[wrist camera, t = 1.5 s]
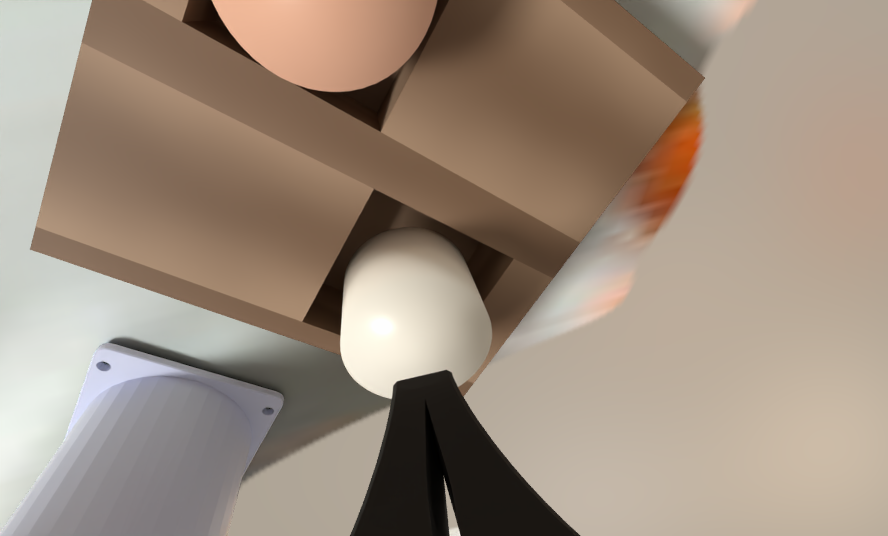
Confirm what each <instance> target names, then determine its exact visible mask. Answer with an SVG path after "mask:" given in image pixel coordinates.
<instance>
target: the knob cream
mask: <svg viewBox="0 0 888 536" xmlns="http://www.w3.org/2000/svg"><path fill="white" fill-rule="evenodd" d="M491 341H492V327H491V321H490V318H489V315H488V313H487V310H486V308H485V306H484V303H483V301H482V299H481V296H480V294H479V292H478V289H477V287H476V285H475V282H474V280H473V278H472V276H471V273H470V271H469V269H468V266H467V264H466V262H465V259H464V257H463V255H462V254H461V252H460V251H459V249H458V248H457V247H456V246H455V245H454V244H453V243H452V242H451V241H450V240H448V239H447V238H446V237H444V236H442V235H441V234H439V233H436V232H434V231H431V230H428V229H424V228H417V227H402V228H395V229H391V230H388V231H385V232H382V233H380V234H378V235H376V236H374V237H372V238H371V239H369V240H368V241H366V242H365V243H364V244H363V245H362V246H360V247H359V249H358V250H357V251H356V252H355V253H354V255H353V256H352V258H351V259H350V261H349V264H348V266H347V268H346V272H345V277H344V288H343V304H342V321H341V337H340V351H341V356H342V360H343V362H344V365H345V367H346V369H347V371H348V372H349V374H350V375H351V376H352V377H353V379H354V380H355V381H356V382H358V383H359V384H360V385H361V386H362V387H364V388H365V389H367V390H369V391H371V392H372V393H374V394H377V395H380V396H382V397H386V398H390V399H392V393H393V385H394V384H395V383H396V382H397V381H400V380H404V379H409V378H413V377H417V376H422V375H426V374H430V373H435V372H439V371H443V370H448V371H450V372H452V375H453V377H454V380H455V382H456V384H457V386H458V387H459V386H460V385H462V384H463V383H465V382H466V381H467V380H468V379H470V378H471V377H472V376H473V375H474V374H475V373H476V372H477V370H478V369H479V368H480V367H481V365H482V364H483V362H484V361H485V359H486V357H487V355H488V352H489V349H490V346H491Z"/></svg>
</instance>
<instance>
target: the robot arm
mask: <svg viewBox="0 0 888 536" xmlns="http://www.w3.org/2000/svg"><path fill="white" fill-rule="evenodd" d="M103 362H107V363H109V365H106V364H104V363H103ZM283 402H284V397H283V395H282V394H281V393H279V392H277V391H273V390H270V389H266V388H263V387H260V386H256V385H253V384H249V383H246V382H242V381H239V380H236V379H232V378H229V377H225V376H222V375H219V374H215V373H212V372H208V371H205V370H201V369H198V368H195V367H191V366H188V365H184V364H181V363H177V362H174V361H171V360H167V359H164V358H160V357H157V356H153V355H150V354H147V353H143V352H140V351H136V350H133V349H130V348H126V347H123V346H119V345H116V344H111V343H105V344H102V345H100V346H99V347H98V348H97V349H96V351H95V352H94V354H93V357H92V360H91V363H90V366H89V369H88V371H87V374H86V377H85V380H84V383H83V386H82V389H81V392H80V395H79V398H78V401H77V404H76V407H75V409H74V412H73V415H72V418H71V421H70V424H69V427H68V430H67V433H66V436H65V439H64V441H63V442H62V444H61V445H60V447H59V448H58V450H57V451H56V452H55V454H54V455H53V457H52V458H51V460H50V461H49V462H48V464H47V465H46V467H45V468H44V470H43V471H42V472H41V474H40V475H39V477H38V478H37V480H36V481H35V482H34V484H33V485H32V487H31V488H30V490H29V491H28V493H27V494H26V495H25V497H24V498H23V500H22V501H21V503H20V504H19V505H18V507H17V508H16V510H15V511H14V513H13V514H12V515H11V517H10V518H9V520H8V521H7V523H6V524H5V525H4V527H3V528H2V530H1V531H0V536H227V535H228V531H229V528H230V524H231V519H232V515H233V512H234V507H235V504H236V500H237V496H238V492H239V488H240V484H241V481H242V477H243V475H244V473H245V471H246V470H247V468H248V466H249V464H250V463H251V461H252V459H253V457H254V456H255V454H256V452H257V450H258V449H259V447H260V445H261V443H262V442H263V440H264V438H265V436H266V434H267V433H268V431H269V429H270V427H271V426H272V424H273V422H274V420H275V419H276V417H277V415H278V413H279V412H280V410H281V408H282V406H283ZM267 407H269V408H272V409H266V408H267ZM444 478H445V481H446V485H447V489H448V492H449V496H450V499H451V503H452V506H453V510H454V513H455V516H456V520H457V524H458V527H459V531H460V535H461V536H580V535H579V534H578V533H577V532H576V531H575V530H574V529H572V528H571V527H570V526H569V525H568V524H567V523H566V522H565V521H564V520H563V519H562V518H561V517H560V516H559V515H558V514H557V513H556V512H555V511H554V510H553V509H552V508H551V507H550V506H549V505H548V504H547V503H546V502H545V501H544V500H543V499H542V498H541V497H540V496H539V495H538V494H537V493H536V491H535V490H534V489H533V488H532V487H531V486H530V485H529V484H528V483H527V482H526V481H525V479H524V478H523V477H522V476H521V475H520V474H519V473H518V472H517V470H516V469H515V468H514V467H513V466H512V465H511V463H510V462H509V461H508V459H507V458H506V457H505V456H504V455H503V453H502V452H501V451H500V450H499V448H498V447H497V446H496V444H495V443H494V442H493V441H492V439H491V438H490V436H489V435H488V434H487V432H486V431H485V429H484V428H483V427H482V425H481V424H480V423H479V421H478V420H477V418H476V417H475V415H474V414H473V412H472V411H471V409H470V407H469V406H468V404H467V402H466V401H465V399H464V397H463V396H462V394H461V392H460V390H459V388H458V386H457V384H456V382H455V380H454V377H453V375H452V372H450V371H448V370H443V371H439V372H435V373H430V374H426V375H422V376H417V377H413V378H409V379H404V380H400V381H397V382H396V383H395V384H394V385H393V393H392V401H391V407H390V412H389V418H388V422H387V426H386V431H385V435H384V438H383V442H382V446H381V449H380V453H379V457H378V460H377V463H376V467H375V470H374V473H373V475H372V478H371V482H370V484H369V487H368V490H367V494H366V496H365V499H364V502H363V505H362V507H361V510H360V512H359V515H358V518H357V520H356V523H355V525H354V528H353V530H352V532H351V535H350V536H449V527H448V518H447V517H448V516H447V507H446V495H445V486H444Z"/></svg>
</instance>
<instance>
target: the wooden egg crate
mask: <svg viewBox="0 0 888 536" xmlns="http://www.w3.org/2000/svg"><path fill="white" fill-rule="evenodd" d="M704 79H705V77H703V76H702V75H701V74H700V73H699V72H698V71H696V70H695V69H694V68H693V67H692V66H691V65H689V64H688V63H687V62H686V61H685V60H684V59H682V58H681V57H680V56H679V55H678V54H677V53H675V52H674V51H673V50H672V49H671V48H670V47H668V46H667V45H666V44H665V43H664V42H663V41H661V40H660V39H659V38H658V37H657V36H655V35H654V34H653V33H652V32H651V31H650V30H648V29H647V28H646V27H645V26H644V25H643V24H641V23H640V22H639V21H638V20H637V19H636V18H634V17H633V16H632V15H631V14H630V13H629V12H627V11H626V10H625V9H624V8H623V7H622V6H620V5H619V4H618V3H617V2H616V1H615V0H437V4H436V8H435V11H434V14H433V18H432V21H431V23H430V26H429V28H428V30H427V32H426V35H425V36H424V38H423V40H422V42H421V43H420V45H419V47H418V48H417V49H416V51H415V52H414V53H413V54H412V56H411V57H410V58H409V59H408V60H407V61H406V62H405V63H404V64H403V65H402V66H401V67H400V68H399V69H398V70H397V71H395V72H394V73H393V74H391V75H390V76H388V77H387V78H385V79H383V80H381V81H379V82H378V83H376V84H373V85H370V86H368V87H365V88H362V89H357V90H352V91H344V92H327V91H318V90H313V89H308V88H305V87H302V86H299V85H296V84H293V83H291V82H289V81H287V80H285V79H283V78H281V77H279V76H277V75H276V74H274V73H272V72H271V71H269V70H268V69H266V68H265V67H264V66H262V65H261V64H260V63H259V62H257V61H256V60H255V59H254V58H252V57H251V56H250V54H249V53H248V52H247V51H246V50H245V49H244V48H243V47H242V46H241V45H240V44H239V43H238V42H237V40H236V39H235V38H234V37H233V35H232V34H231V33H230V32H229V30H228V29H227V27H226V25H225V24H224V22H223V21H222V19H221V18H220V16H219V14H218V12H217V10H216V8H215V6H214V4H213V2H212V0H92V3H91V7H90V11H89V15H88V19H87V23H86V27H85V31H84V35H83V39H82V43H81V47H80V51H79V55H78V59H77V64H76V68H75V72H74V76H73V80H72V84H71V88H70V92H69V96H68V100H67V104H66V108H65V112H64V116H63V120H62V124H61V128H60V132H59V136H58V140H57V144H56V148H55V152H54V156H53V160H52V164H51V168H50V172H49V176H48V180H47V184H46V188H45V192H44V196H43V200H42V204H41V208H40V212H39V216H38V220H37V224H36V228H35V232H34V236H33V240H32V244H31V248H30V250H33V251H36V252H39V253H42V254H45V255H48V256H51V257H54V258H57V259H60V260H63V261H66V262H69V263H71V264H74V265H77V266H80V267H83V268H86V269H89V270H92V271H95V272H98V273H101V274H104V275H107V276H110V277H113V278H116V279H118V280H121V281H124V282H127V283H130V284H133V285H136V286H139V287H142V288H145V289H148V290H151V291H154V292H157V293H160V294H163V295H165V296H168V297H171V298H174V299H177V300H180V301H183V302H186V303H189V304H192V305H195V306H198V307H201V308H204V309H207V310H210V311H212V312H215V313H218V314H221V315H224V316H227V317H230V318H233V319H236V320H239V321H242V322H245V323H248V324H251V325H254V326H257V327H259V328H262V329H265V330H268V331H271V332H274V333H277V334H280V335H283V336H286V337H289V338H292V339H295V340H298V341H301V342H304V343H307V344H309V345H312V346H315V347H318V348H321V349H324V350H327V351H330V352H333V353H336V354H339V355H341V351H340V337H341V321H342V304H343V288H344V277H345V272H346V268H347V266H348V264H349V261H350V259H351V258H352V256H353V255H354V253H355V252H356V251H357V250H358V249H359V247H360V246H362V245H363V244H364V243H365V242H366V241H368V240H369V239H371V238H372V237H374V236H376V235H378V234H380V233H382V232H385V231H388V230H391V229H395V228H402V227H417V228H424V229H428V230H431V231H434V232H436V233H439V234H441V235H442V236H444V237H446V238H447V239H448V240H450V241H451V242H452V243H453V244H454V245H455V246H456V247H457V248H458V249H459V251H460V252H461V254H462V255H463V257H464V259H465V262H466V264H467V266H468V269H469V271H470V273H471V276H472V278H473V280H474V282H475V285H476V287H477V289H478V292H479V294H480V296H481V299H482V301H483V303H484V306H485V308H486V310H487V313H488V315H489V318H490V321H491V327H492V341H491V346H490V349H489V352H488V355H487V357H486V359H485V361H484V362H483V364H482V365H481V367H480V368H479V369H478V370H477V372H476V373H475V374H474V375H473V376H472V377H471V378H470V379H468V380H467V381H466V382H465V383H463V384H462V385H460V386H459V387H458V388H459V390H460V392H461V394H462V396H464V395H465V394H466V393H467V391H468V390H469V388H470V387H471V386H472V385H473V383H474V382H475V381H476V379H477V378H478V377H479V375H480V374H481V373H482V371H483V370H484V369H485V367H486V366H487V365H488V364H489V362H490V361H491V360H492V358H493V357H494V356H495V354H496V353H497V352H498V350H499V349H500V348H501V346H502V345H503V344H504V342H505V341H506V340H507V338H508V337H509V336H510V335H511V333H512V332H513V331H514V329H515V328H516V327H517V325H518V324H519V323H520V321H521V320H522V319H523V317H524V316H525V315H526V313H527V312H528V311H529V309H530V308H531V307H532V306H533V304H534V303H535V302H536V300H537V299H538V298H539V296H540V295H541V294H542V292H543V291H544V290H545V288H546V287H547V286H548V284H549V283H550V282H551V280H552V279H553V278H554V277H555V275H556V274H557V273H558V271H559V270H560V269H561V267H562V266H563V265H564V263H565V262H566V261H567V259H568V258H569V257H570V255H571V254H572V253H573V251H574V250H575V249H576V248H577V246H578V245H579V244H580V242H581V241H582V240H583V238H584V237H585V236H586V234H587V233H588V232H589V230H590V229H591V228H592V226H593V225H594V224H595V222H596V221H597V220H598V219H599V217H600V216H601V215H602V213H603V212H604V211H605V209H606V208H607V207H608V205H609V204H610V203H611V201H612V200H613V199H614V197H615V196H616V195H617V193H618V192H619V191H620V190H621V188H622V187H623V186H624V184H625V183H626V182H627V180H628V179H629V178H630V176H631V175H632V174H633V172H634V171H635V170H636V168H637V167H638V166H639V164H640V163H641V162H642V161H643V159H644V158H645V157H646V155H647V154H648V153H649V151H650V150H651V149H652V147H653V146H654V145H655V143H656V142H657V141H658V139H659V138H660V137H661V135H662V134H663V133H664V132H665V130H666V129H667V128H668V126H669V125H670V124H671V122H672V121H673V120H674V118H675V117H676V116H677V114H678V113H679V112H680V110H681V109H682V108H683V106H684V105H685V104H686V103H687V101H688V100H689V99H690V97H691V96H692V95H693V93H694V92H695V91H696V89H697V88H698V87H699V85H700V84H701V83H702V81H703V80H704Z"/></svg>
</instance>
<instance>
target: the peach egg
mask: <svg viewBox="0 0 888 536" xmlns="http://www.w3.org/2000/svg"><path fill="white" fill-rule="evenodd" d="M212 2H213V4H214V6H215V8H216V10H217V12H218V14H219V16H220V18H221V19H222V21H223V22H224V24H225V25H226V27H227V29H228V30H229V32H230V33H231V34H232V35H233V37H234V38H235V39H236V40H237V42H238V43H239V44H240V45H241V46H242V47H243V48H244V49H245V50H246V51H247V52H248V53H249V54H250V56H251V57H252V58H254V59H255V60H256V61H257V62H259V63H260V64H261V65H262V66H264V67H265V68H266V69H268V70H269V71H271V72H272V73H274V74H276V75H277V76H279V77H281V78H283V79H285V80H287V81H289V82H291V83H293V84H296V85H299V86H302V87H305V88H308V89H313V90H318V91H327V92H344V91H352V90H357V89H362V88H365V87H368V86H370V85H373V84H376V83H378V82H379V81H381V80H383V79H385V78H387V77H388V76H390V75H391V74H393V73H394V72H395V71H397V70H398V69H399V68H400V67H401V66H402V65H403V64H404V63H405V62H406V61H407V60H408V59H409V58H410V57H411V56H412V54H413V53H414V52H415V51H416V49H417V48H418V47H419V45H420V43H421V42H422V40H423V38H424V36H425V35H426V32H427V30H428V28H429V26H430V23H431V21H432V18H433V14H434V11H435V8H436V4H437V0H212Z"/></svg>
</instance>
